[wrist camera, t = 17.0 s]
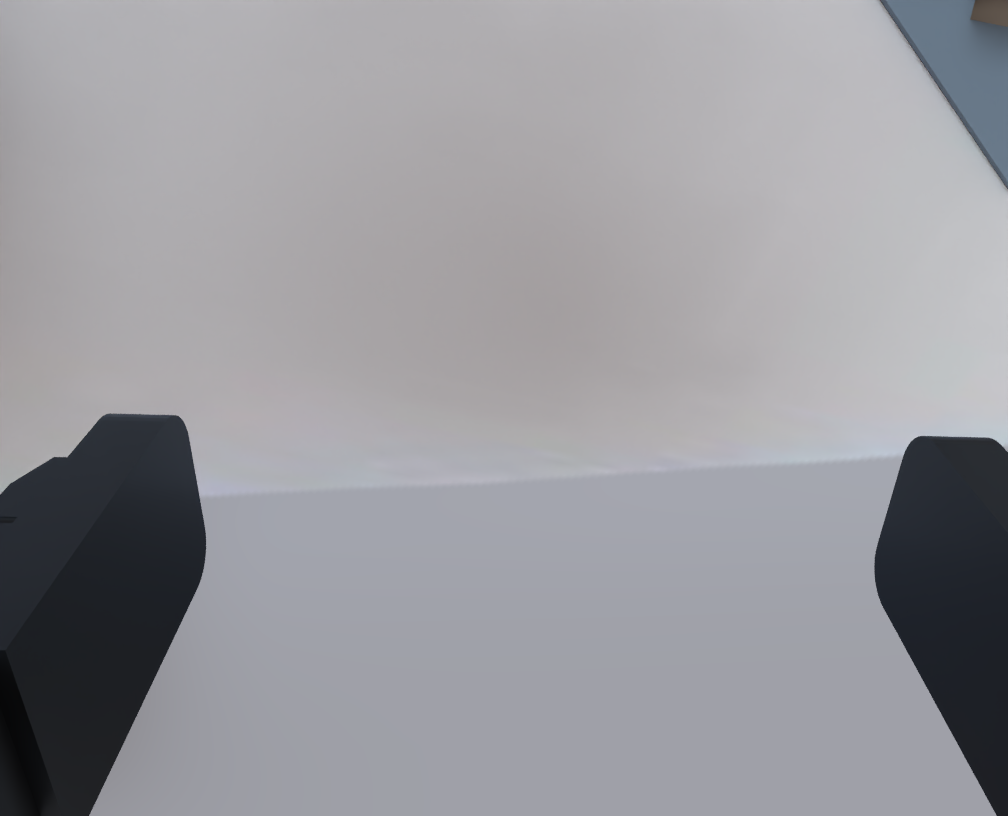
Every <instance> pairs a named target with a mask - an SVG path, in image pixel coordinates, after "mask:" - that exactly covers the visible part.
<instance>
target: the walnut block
mask: <svg viewBox="0 0 1008 816" xmlns="http://www.w3.org/2000/svg"><path fill="white" fill-rule="evenodd" d="M970 19H971V20H976V21H981V22H986V23H991V24H996V25H1001V26H1005V27H1008V0H975V3H974V7H973V10H972V14H971V18H970Z"/></svg>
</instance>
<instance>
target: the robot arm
mask: <svg viewBox="0 0 1008 816" xmlns="http://www.w3.org/2000/svg"><path fill="white" fill-rule="evenodd" d="M205 554H206V533H205V527H204V520H203V515H202V509H201V503H200V498H199V492H198V486H197V481H196V475H195V469H194V464H193V458H192V452H191V447H190V441H189V436H188V432H187V429H186V426H185V424H184V422H183V420H182V419H181V418H180V417H179V416H176V415H142V414H106V415H104V416H103V417H101V418H100V419H99V420H98V422H97V423H96V424H95V425H94V426H93V428H92V429H91V430H90V431H89V432H88V434H87V435H86V436H85V437H84V438H83V440H82V441H81V442H80V443H79V444H78V445H77V447H76V448H75V449H74V450H73V451H72V453H71V454H70V455H69V456H68V457H54V458H52V459H50V460H49V461H47V462H45V463H44V464H42V465H40V466H39V467H37V468H36V469H34V470H32V471H31V472H29V473H27V474H26V475H24V476H22V477H21V478H19V479H17V480H16V481H14V482H13V483H11V484H10V485H9V486H8V487H7V488H6V489H5V490H4V491H3V492H2V494H1V495H0V816H89V814H90V812H91V810H92V808H93V806H94V804H95V802H96V800H97V798H98V795H99V794H100V792H101V789H102V787H103V785H104V783H105V781H106V779H107V776H108V775H109V773H110V771H111V768H112V766H113V764H114V762H115V760H116V758H117V756H118V754H119V752H120V750H121V747H122V745H123V743H124V741H125V739H126V737H127V735H128V733H129V731H130V729H131V726H132V724H133V722H134V720H135V718H136V716H137V714H138V712H139V710H140V707H141V706H142V703H143V701H144V699H145V697H146V695H147V693H148V691H149V689H150V686H151V685H152V682H153V680H154V678H155V676H156V674H157V672H158V670H159V668H160V665H161V664H162V661H163V659H164V657H165V655H166V653H167V651H168V649H169V647H170V645H171V643H172V640H173V638H174V636H175V634H176V632H177V630H178V628H179V626H180V624H181V622H182V619H183V617H184V615H185V613H186V611H187V609H188V607H189V605H190V602H191V601H192V598H193V596H194V594H195V592H196V590H197V588H198V585H199V583H200V580H201V577H202V573H203V569H204V563H205ZM875 582H876V587H877V592H878V596H879V598H880V601H881V604H882V606H883V608H884V610H885V611H886V613H887V615H888V617H889V619H890V621H891V622H892V624H893V626H894V628H895V630H896V632H897V633H898V635H899V637H900V639H901V641H902V642H903V644H904V646H905V648H906V650H907V652H908V654H909V655H910V657H911V659H912V661H913V663H914V665H915V666H916V668H917V670H918V672H919V674H920V676H921V678H922V679H923V681H924V683H925V685H926V687H927V689H928V690H929V692H930V694H931V696H932V698H933V700H934V701H935V703H936V705H937V707H938V709H939V710H940V712H941V714H942V716H943V718H944V720H945V722H946V723H947V725H948V727H949V729H950V731H951V732H952V734H953V736H954V738H955V740H956V741H957V743H958V745H959V747H960V749H961V751H962V753H963V754H964V756H965V758H966V760H967V762H968V764H969V766H970V767H971V769H972V771H973V773H974V775H975V776H976V778H977V780H978V782H979V784H980V786H981V787H982V789H983V791H984V793H985V795H986V797H987V799H988V800H989V802H990V804H991V806H992V808H993V810H994V811H995V813H996V815H997V816H1008V452H1007V451H1006V450H1005V449H1004V448H1003V447H1002V446H1001V445H1000V444H999V443H998V442H997V441H995V440H993V439H991V438H978V437H939V436H920V437H917V438H915V439H914V440H913V441H911V443H910V444H909V445H908V447H907V449H906V451H905V454H904V456H903V459H902V463H901V466H900V470H899V473H898V477H897V480H896V483H895V487H894V490H893V494H892V497H891V500H890V504H889V508H888V511H887V514H886V518H885V521H884V525H883V528H882V531H881V535H880V538H879V542H878V545H877V549H876V554H875Z"/></svg>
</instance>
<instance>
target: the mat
mask: <svg viewBox="0 0 1008 816" xmlns="http://www.w3.org/2000/svg"><path fill="white" fill-rule="evenodd" d="M881 2H882V3H883V5H884V6H885V8H886V9H887V11H888V12H889V14H890V15H891V17H892V18H893V19H894V21H895V22H896V24H897V25H898V27H899V28H900V30H901V31H902V33H903V34H904V36H905V37H906V39H907V40H908V42H909V43H910V45H911V46H912V48H913V49H914V51H915V52H916V54H917V55H918V57H919V58H920V59H921V61H922V62H923V64H924V65H925V67H926V68H927V70H928V71H929V73H930V74H931V76H932V77H933V79H934V80H935V82H936V83H937V85H938V86H939V88H940V89H941V91H942V92H943V94H944V95H945V97H946V98H947V99H948V101H949V102H950V104H951V105H952V107H953V108H954V110H955V111H956V113H957V114H958V116H959V117H960V119H961V120H962V122H963V123H964V125H965V126H966V128H967V129H968V131H969V132H970V134H971V135H972V136H973V138H974V139H975V141H976V142H977V144H978V145H979V147H980V148H981V150H982V151H983V153H984V154H985V156H986V157H987V159H988V160H989V162H990V163H991V165H992V166H993V168H994V169H995V171H996V172H997V174H998V175H999V176H1000V178H1001V179H1002V181H1003V182H1004V184H1005V185H1006V187H1007V188H1008V27H1005V26H1001V25H996V24H991V23H986V22H981V21H976V20H971V19H970V18H971V14H972V10H973V7H974V3H975V0H881Z"/></svg>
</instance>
